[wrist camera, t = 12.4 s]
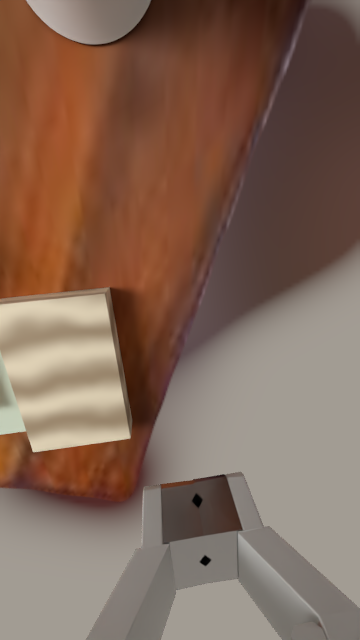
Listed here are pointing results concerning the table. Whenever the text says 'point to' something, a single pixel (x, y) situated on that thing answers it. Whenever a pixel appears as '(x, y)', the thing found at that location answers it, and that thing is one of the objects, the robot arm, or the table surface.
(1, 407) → the mat
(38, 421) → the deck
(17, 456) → the table surface
